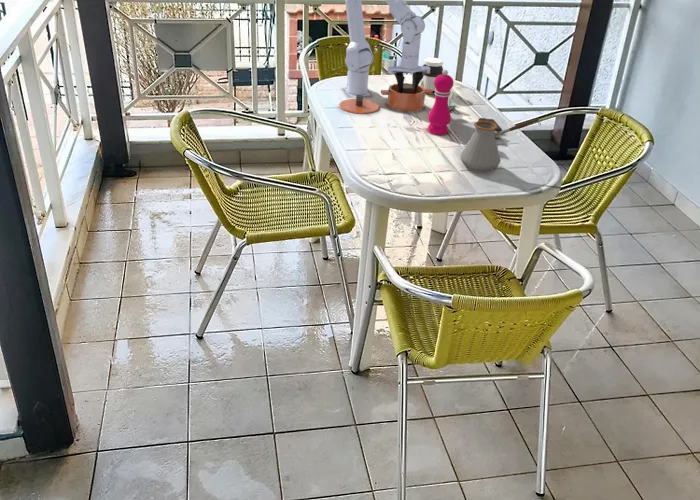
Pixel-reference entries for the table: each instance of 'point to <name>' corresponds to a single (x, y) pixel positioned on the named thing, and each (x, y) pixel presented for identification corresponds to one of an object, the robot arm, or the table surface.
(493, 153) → the coffee pot
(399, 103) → the pot
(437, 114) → the pepper mill
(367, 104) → the lid
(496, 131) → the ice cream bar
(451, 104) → the pacifier
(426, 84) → the spread jar
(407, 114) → the table surface
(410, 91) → the block
